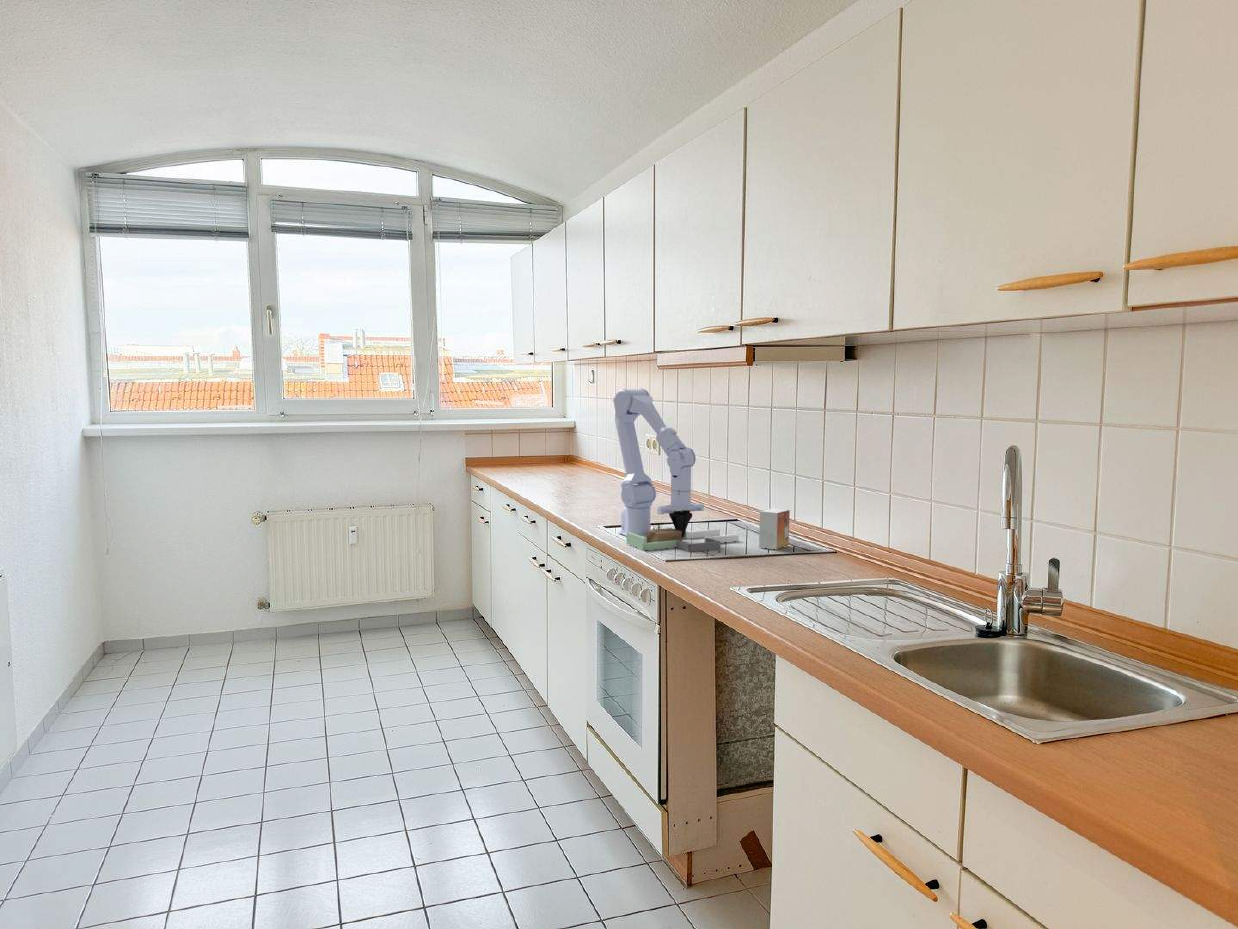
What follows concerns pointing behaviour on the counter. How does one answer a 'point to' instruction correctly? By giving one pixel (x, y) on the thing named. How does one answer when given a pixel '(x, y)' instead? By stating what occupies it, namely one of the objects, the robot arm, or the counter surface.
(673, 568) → the counter surface
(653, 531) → the walnut block
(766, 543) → the small box
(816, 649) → the counter surface
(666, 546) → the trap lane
